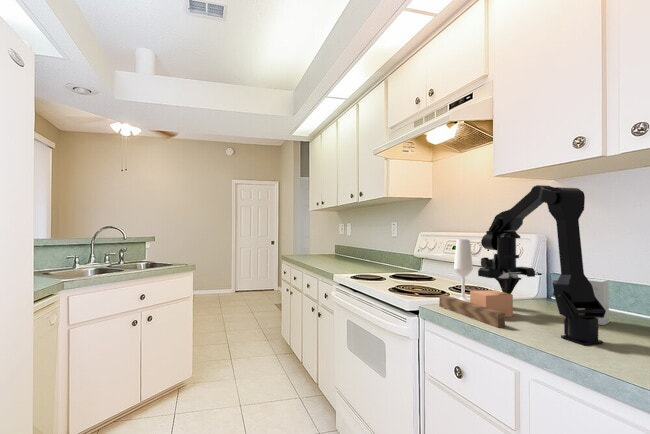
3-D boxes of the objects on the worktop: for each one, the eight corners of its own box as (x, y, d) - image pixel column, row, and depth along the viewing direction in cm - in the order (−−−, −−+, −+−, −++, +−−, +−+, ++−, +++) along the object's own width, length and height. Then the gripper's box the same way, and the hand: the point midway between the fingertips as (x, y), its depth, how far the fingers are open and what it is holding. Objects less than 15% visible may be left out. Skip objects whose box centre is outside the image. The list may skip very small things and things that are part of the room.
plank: (504, 327, 102) (504, 313, 103) (498, 327, 102) (498, 313, 102) (445, 306, 129) (445, 295, 129) (439, 306, 129) (439, 295, 129)
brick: (512, 316, 115) (512, 294, 116) (486, 317, 113) (486, 295, 113) (495, 310, 123) (495, 290, 123) (470, 311, 121) (470, 291, 121)
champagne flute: (474, 304, 132) (474, 240, 133) (454, 303, 134) (455, 239, 134) (470, 301, 139) (471, 239, 139) (452, 300, 140) (452, 239, 141)
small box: (609, 322, 110) (609, 279, 110) (603, 325, 106) (603, 281, 106) (578, 317, 116) (578, 276, 116) (571, 320, 112) (571, 278, 112)
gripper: (510, 249, 131) (510, 292, 130) (467, 250, 126) (467, 294, 125) (536, 251, 120) (536, 298, 120) (490, 252, 115) (490, 301, 114)
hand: (506, 297), depth 120 cm, fingers closed
